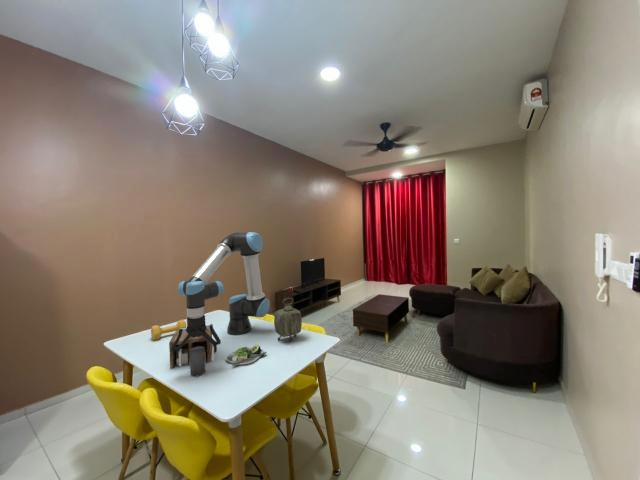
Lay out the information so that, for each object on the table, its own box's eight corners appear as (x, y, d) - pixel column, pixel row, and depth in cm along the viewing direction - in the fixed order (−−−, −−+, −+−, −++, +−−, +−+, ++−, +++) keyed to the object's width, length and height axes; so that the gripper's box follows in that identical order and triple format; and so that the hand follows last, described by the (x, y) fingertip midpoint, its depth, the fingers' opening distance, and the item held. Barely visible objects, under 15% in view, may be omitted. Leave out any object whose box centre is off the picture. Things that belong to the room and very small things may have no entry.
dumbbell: (152, 342, 153) (152, 328, 153) (150, 338, 160) (149, 324, 160) (187, 334, 165) (187, 321, 165) (184, 330, 172) (183, 318, 172)
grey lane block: (189, 357, 133) (189, 348, 133) (188, 363, 128) (187, 353, 127) (178, 359, 132) (178, 349, 131) (176, 365, 126) (176, 355, 126)
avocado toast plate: (246, 372, 119) (246, 362, 119) (216, 365, 125) (216, 355, 125) (270, 353, 137) (269, 344, 137) (242, 348, 143) (242, 340, 143)
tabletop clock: (296, 334, 160) (295, 294, 160) (303, 339, 153) (302, 297, 152) (274, 340, 152) (273, 298, 152) (280, 345, 145) (279, 301, 144)
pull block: (207, 356, 134) (207, 335, 134) (204, 374, 116) (203, 350, 116) (195, 358, 132) (194, 337, 132) (189, 377, 114) (188, 353, 114)
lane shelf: (212, 348, 143) (211, 326, 143) (210, 361, 128) (209, 336, 128) (176, 354, 137) (175, 330, 137) (170, 368, 122) (169, 342, 122)
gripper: (225, 310, 125) (226, 354, 125) (166, 316, 117) (168, 363, 117) (225, 315, 118) (226, 361, 118) (162, 322, 110) (164, 371, 110)
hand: (197, 362), depth 118 cm, fingers open, 13 cm apart
